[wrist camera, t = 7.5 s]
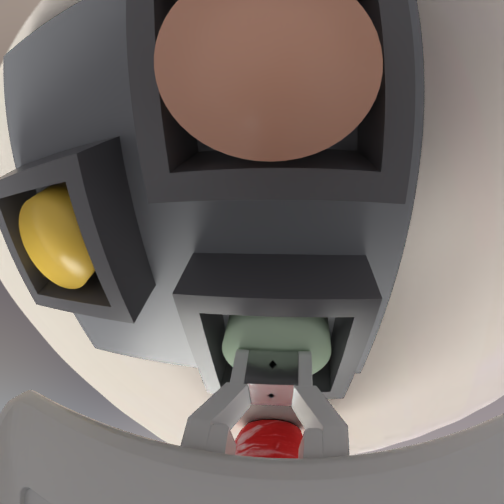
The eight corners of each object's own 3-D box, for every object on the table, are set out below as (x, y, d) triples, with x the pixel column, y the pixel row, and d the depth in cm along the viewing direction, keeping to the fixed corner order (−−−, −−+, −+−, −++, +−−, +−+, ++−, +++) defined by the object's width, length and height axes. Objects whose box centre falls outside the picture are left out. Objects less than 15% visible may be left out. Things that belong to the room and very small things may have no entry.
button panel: (391, -18, 5) (439, -56, 1) (356, 347, 16) (364, 408, 12) (29, 53, 7) (-32, 63, 4) (106, 329, 18) (80, 374, 14)
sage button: (333, 282, 11) (339, 318, 9) (321, 349, 13) (323, 382, 11) (224, 280, 11) (214, 315, 9) (235, 346, 14) (228, 378, 12)
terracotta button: (351, -3, 4) (371, -30, 2) (356, 146, 6) (380, 165, 5) (183, 4, 5) (151, -17, 3) (194, 148, 7) (165, 167, 5)
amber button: (98, 171, 9) (67, 190, 7) (125, 265, 11) (104, 293, 10) (36, 185, 10) (8, 203, 8) (63, 261, 12) (42, 284, 10)
